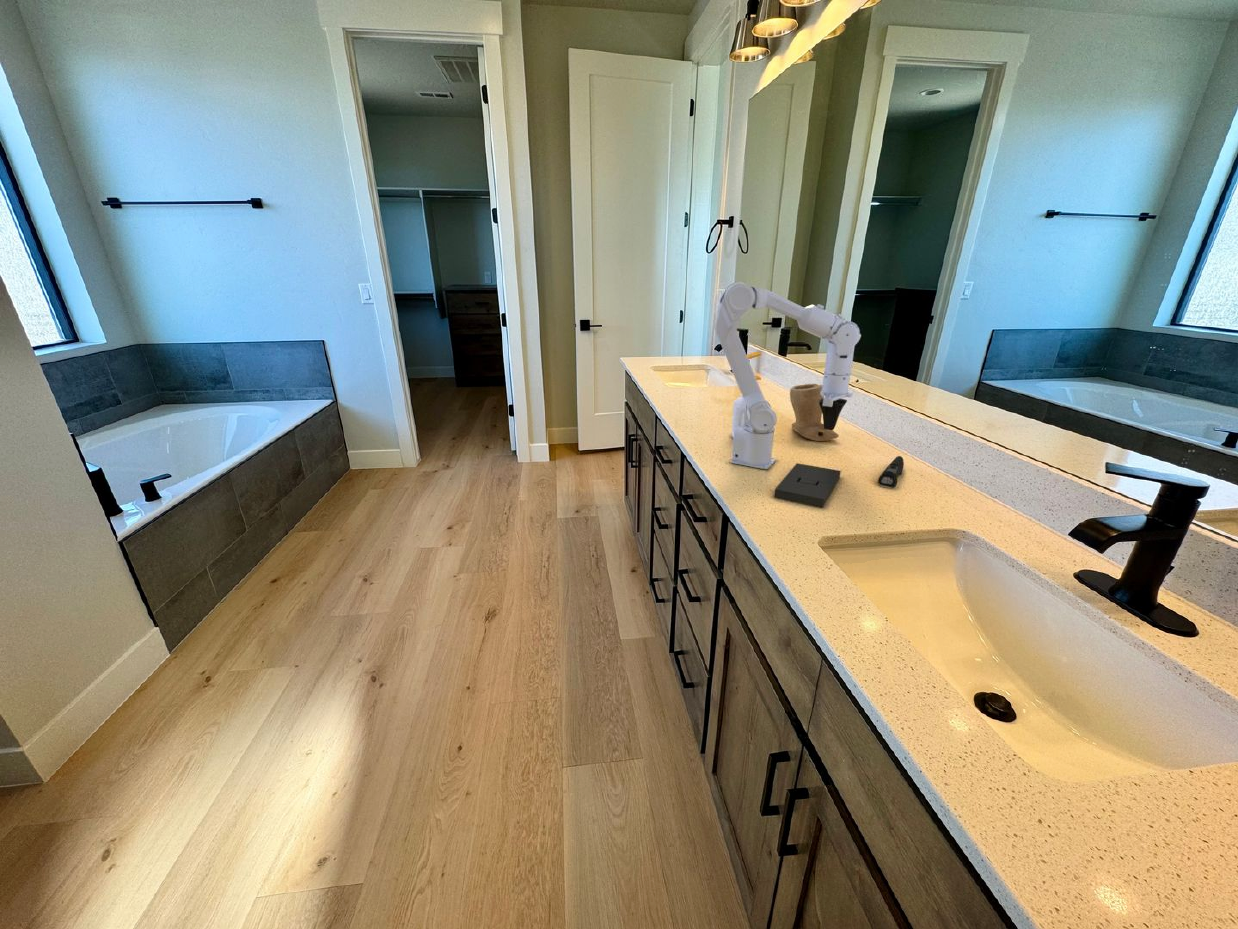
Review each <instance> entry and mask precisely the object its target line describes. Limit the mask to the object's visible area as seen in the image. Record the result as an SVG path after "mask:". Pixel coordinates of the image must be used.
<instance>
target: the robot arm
mask: <svg viewBox="0 0 1238 929" xmlns="http://www.w3.org/2000/svg"><path fill="white" fill-rule="evenodd" d="M751 308H752V309H754V310H759V309H769V310H772V311H774V312H776V313H779V314H781V315H783V316H785V317H788V318H790V319H793V320H795V321H796V322H797V325H798V328H799V329H800V330H802V331H804V332H806V333H808V334H810V335H813V336H815V337H817V338H819V339H822V340H827V342H828V343H827V344H828V345H827V352H826V356H825V364H824V371H823V377H822V384H821V385H822V390H821V392H820V394H821V396H822V397H823V399H821V400H820V401H819V405H820V407H821V410H822V424H823V425H824V429H827V430H833V431H834V429H835V427H836V425H837V423H838V420H839V417H840V414H841V412H842V410H843V408H844V407H845V405H846V404H847V402H848V400H847V399H845V398H853V396H854V393H853V392H849V386H850V380H851V374H852V367H853V360H854V353H855V348H856V347H855V346H856V345H857V344H858V343H859V341H860V340H861V337H862V334H861V333H860V332H861V330H860V328H859V326H858V324H857V323H855V322H853V321H850V320H848V319H846V318H843V317H844V316H843V314H840V313H838V314H835V313H832V312H830V311H828V310H826V309H824V308H825V306H824V305H822V304H820V303H819V304H817V305H815V304H810V305H808V306H805V307H803V306H802V305H799V304H798V303H795V302H793V301H791V300H789V299H787V298H785V297H783V296H781V295H779V294H777V293H775V292H773V291H771V290H769V289H765V288H761V287H757V286H753V285H750V284H748V283H744V282H740V281H739V282H733V283H731V284H729V285H728V286H727V287H726V288H725V290H724V291H723V293H722V295H721V297H720V299H719V301H718V309H717V314H716V317H715V318H716V319H715V324H714V331H715V334H716V336H717V339H718V341H719V343H720V345H721V348H722V350H723V353H724V355H725V358H726V360H727V362H728V365H729V367H730V369H731V372H732V375H733V377H734V380H735V382H736V384H737V386H738V389H739V391H740V393H741V396H743V398H744V401H745V403H746V416H747V418H748V419H749V421H748V422H747V423H746V425H745V426H744V427H743V426H738V427H737V428H736V430H735V433H734V437H732V447H731V448H732V450H731V459H730V463H731V464H735V465H740V466H744V467H745V466H746V467H751V468H754V469H755V468H756V469H762V470H768V469H769V468H770V467H771V466H772V465H773V464H774V463H775V462H776V461H777V458H776V457H772V456H773V448H774V436H775V426H776V424H777V421H778V420H777V419H778V418H777V413H776V412H775V411H774V410H773V409H772V406H771V404H770V403H769V401H767V400H766V399H765V397H764V394H763V392H762V390H761V387H760V385H759V382H758V380H756V377H755V376H756V375H755V372H754V370H753V368H752V366H751V363H750V359H749V360H748V358H747V355H748V354H747V352H746V350H745V348H744V345H743V343H742V341H741V337H740V335H739V332H738V328H739V325H740V324H741V321H742V319H743V317H744V316H745V315H746V314H747V313H748V312H749V311H750V309H751Z"/></svg>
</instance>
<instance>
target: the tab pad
mask: <svg viewBox="0 0 1238 929" xmlns="http://www.w3.org/2000/svg"><path fill="white" fill-rule="evenodd" d="M841 471H842V470H837V469H832V468H827V467H821V466H815V465H809V464H804V463H799V462H797V463H795V465H794V466H793V467H792V468H791V469H790V471H789V472H788V473H787V474H786V475H787V476H793V477H798V478H799V482H801V483H806V484H812V485H818V483H819V482H824V483H829V484H833V487H832V492H833V491H834V490H835V488H836V486H837V484H838V482H839V480H840V479H841Z"/></svg>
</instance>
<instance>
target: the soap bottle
mask: <svg viewBox="0 0 1238 929" xmlns="http://www.w3.org/2000/svg"><path fill="white" fill-rule="evenodd" d="M746 355H747V358H748V360H749V361H750V360H751V359H753V358H757V357H760V356H762V353H761V352H760V351H754V352H752V353H749V354H746ZM755 377H756V380H757V381H758V380H760V381H761V380H762V377H761V376H760V375H755ZM732 404H733V405H732V419H731V432H730V433H731V434H730V435H731V438H733V437H734V433H735V430H736V428H737V427H738V426H743V427H744V426H745V425H746V423H747V422H748V421H749V419H748V418H747V416H746V403H745V401H744V398H743V396H742V395H741V396H739V397H738V398H736V399H735V400H734V401H733V403H732Z"/></svg>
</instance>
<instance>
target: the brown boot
mask: <svg viewBox="0 0 1238 929" xmlns="http://www.w3.org/2000/svg"><path fill="white" fill-rule="evenodd" d="M821 390H822V384H817V383H805V384H797V385H794V386H792V387H791V388H790V390H789V400H790V404H791V407H792V411H793V412H794V417H795V422H792V424H791V429H792V430H793V431H795V432H796V433H798V434H799V435H800V436H802V437H804V438H806V439H808V440H811V441H815V442H827V441H832V440H835V439H838V438H839V436H840V435H839V434H838V433H837V432H836V431H834V429H833V430H827V429H824V425H823V422H822V417H823V414H822V410H821V407H820V405H819V401H820V400H821V399H823V397H822V396H821V394H820V392H821Z"/></svg>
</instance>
